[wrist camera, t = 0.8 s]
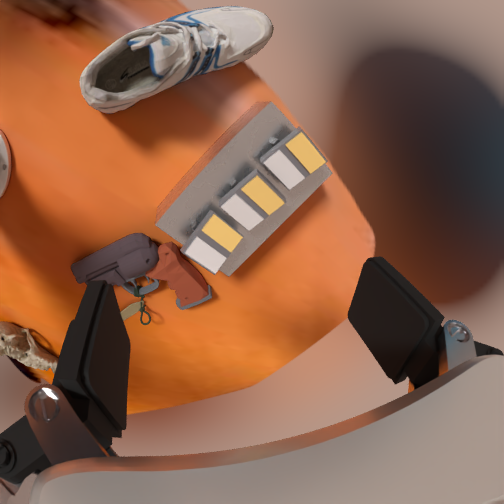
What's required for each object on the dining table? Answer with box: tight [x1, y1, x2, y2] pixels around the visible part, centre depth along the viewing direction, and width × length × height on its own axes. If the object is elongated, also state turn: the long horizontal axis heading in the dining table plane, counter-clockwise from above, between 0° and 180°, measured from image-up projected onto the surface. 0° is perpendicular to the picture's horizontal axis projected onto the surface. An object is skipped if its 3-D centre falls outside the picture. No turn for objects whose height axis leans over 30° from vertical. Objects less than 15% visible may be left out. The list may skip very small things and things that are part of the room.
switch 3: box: [260, 127, 328, 191], centre depth 28 cm, size 6×5×2 cm
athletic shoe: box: [80, 6, 273, 114], centre depth 21 cm, size 10×23×12 cm, turn 119°
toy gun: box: [71, 233, 212, 325], centre depth 38 cm, size 18×5×15 cm
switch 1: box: [180, 210, 244, 275], centre depth 31 cm, size 6×5×2 cm
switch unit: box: [155, 101, 332, 276], centre depth 33 cm, size 19×12×7 cm, turn 134°
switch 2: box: [218, 168, 287, 231], centre depth 29 cm, size 6×5×2 cm
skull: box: [0, 321, 59, 373], centre depth 36 cm, size 9×18×10 cm
